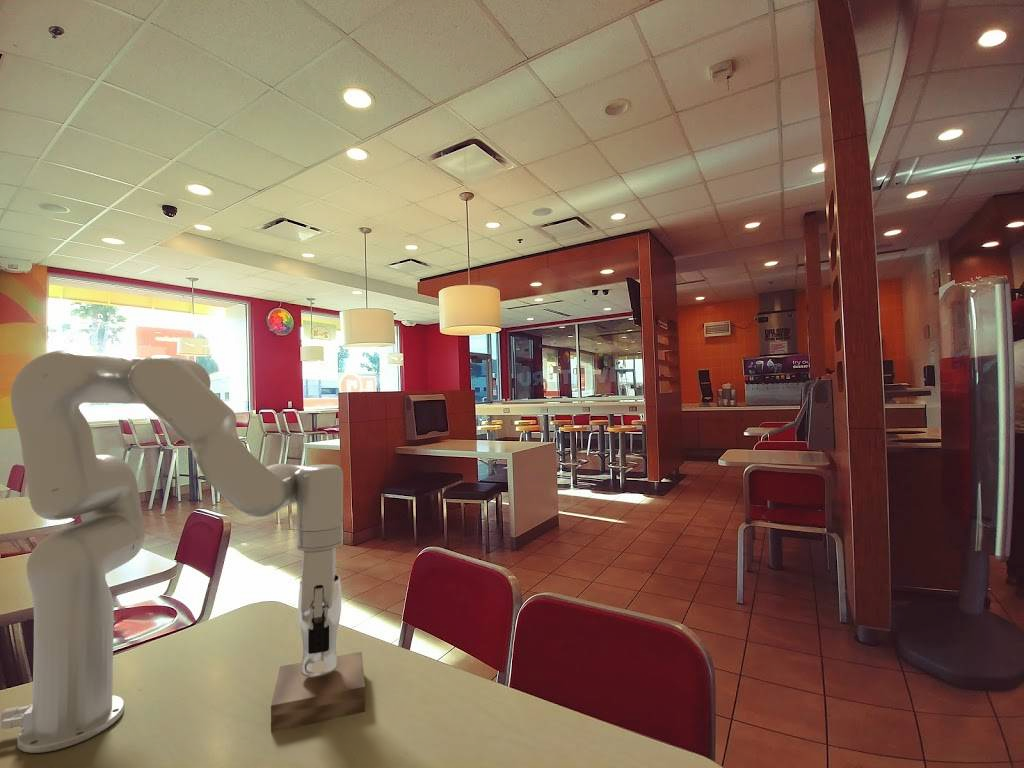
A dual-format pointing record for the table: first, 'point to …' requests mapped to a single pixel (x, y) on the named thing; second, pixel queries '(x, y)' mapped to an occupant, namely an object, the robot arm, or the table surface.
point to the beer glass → (328, 660)
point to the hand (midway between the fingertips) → (319, 640)
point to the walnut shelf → (318, 694)
